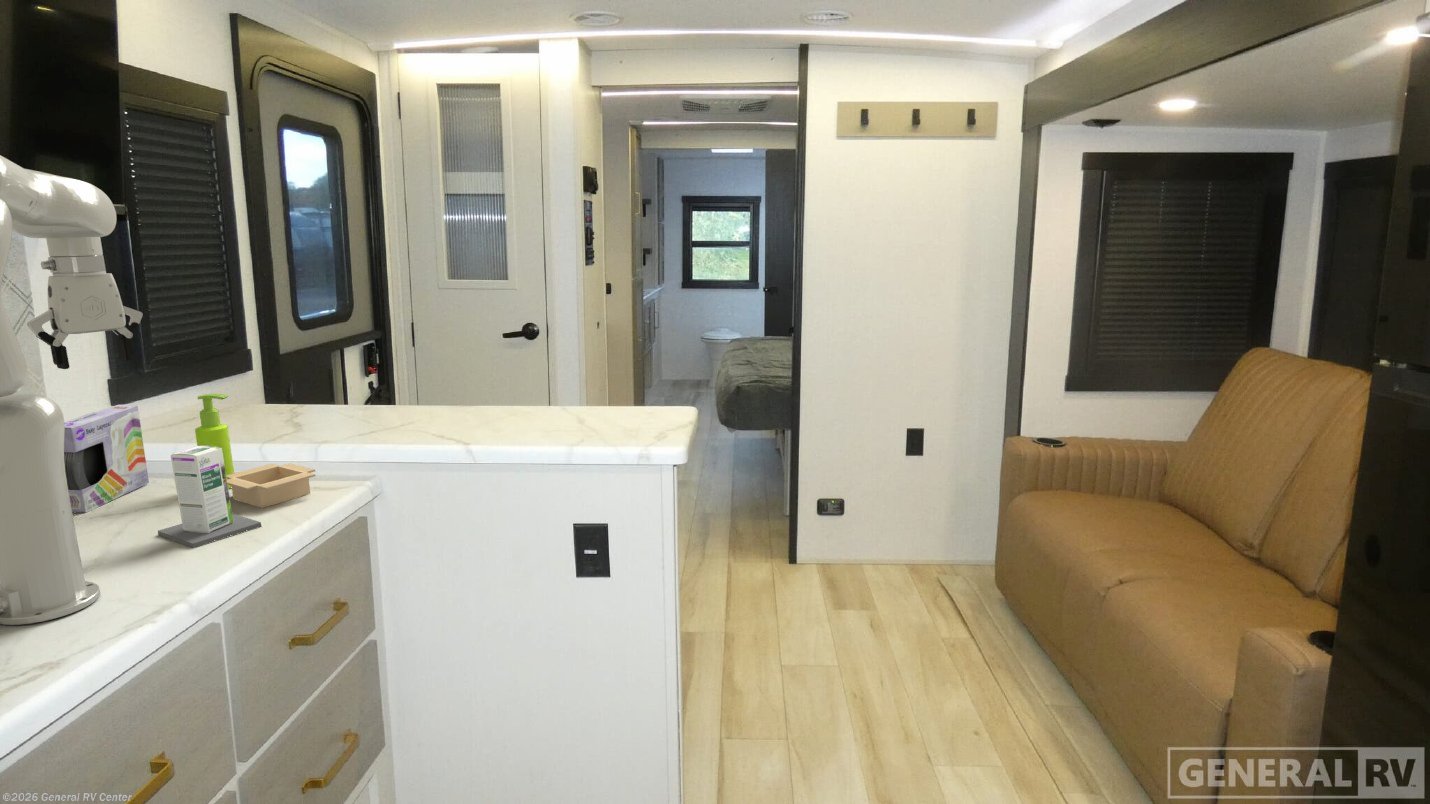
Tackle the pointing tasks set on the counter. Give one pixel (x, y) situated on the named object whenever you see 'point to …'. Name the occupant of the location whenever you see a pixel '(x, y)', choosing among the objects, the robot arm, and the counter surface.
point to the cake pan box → (103, 456)
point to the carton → (270, 484)
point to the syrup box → (202, 489)
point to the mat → (198, 539)
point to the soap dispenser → (214, 431)
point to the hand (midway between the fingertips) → (95, 364)
